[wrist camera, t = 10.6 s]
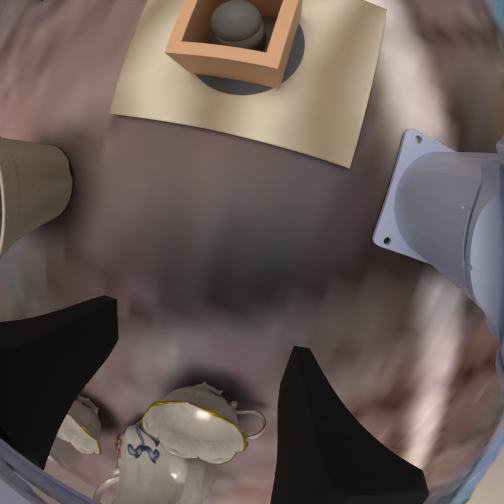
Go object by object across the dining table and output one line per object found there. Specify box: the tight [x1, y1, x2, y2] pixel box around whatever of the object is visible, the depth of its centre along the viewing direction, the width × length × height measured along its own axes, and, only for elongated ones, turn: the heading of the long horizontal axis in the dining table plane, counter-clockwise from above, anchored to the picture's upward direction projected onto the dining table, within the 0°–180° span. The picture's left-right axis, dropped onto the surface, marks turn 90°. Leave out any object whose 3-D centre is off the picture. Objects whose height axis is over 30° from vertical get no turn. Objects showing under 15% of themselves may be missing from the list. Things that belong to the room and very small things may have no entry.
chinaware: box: [56, 381, 266, 504], centre depth 19 cm, size 28×17×17 cm, turn 118°
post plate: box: [109, 0, 387, 168], centre depth 13 cm, size 16×12×6 cm
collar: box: [164, 0, 303, 89], centre depth 12 cm, size 6×6×4 cm
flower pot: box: [0, 137, 72, 259], centre depth 15 cm, size 9×9×9 cm
